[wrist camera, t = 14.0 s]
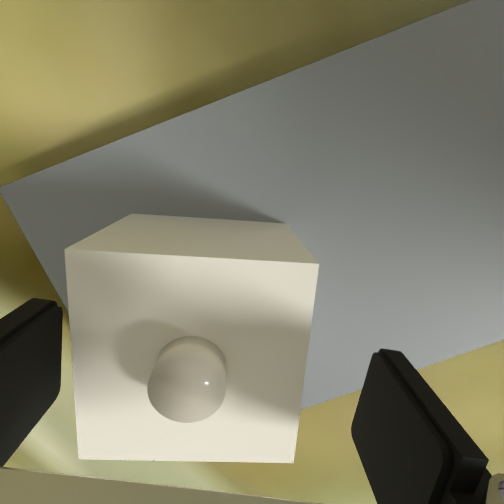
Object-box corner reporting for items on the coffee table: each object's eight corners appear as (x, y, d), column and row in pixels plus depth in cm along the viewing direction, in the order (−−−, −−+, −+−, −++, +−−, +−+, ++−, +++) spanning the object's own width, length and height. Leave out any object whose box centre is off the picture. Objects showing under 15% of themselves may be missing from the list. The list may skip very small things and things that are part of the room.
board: (499, -6, 14) (522, -21, 13) (545, 307, 18) (566, 317, 17) (15, 185, 15) (-3, 187, 14) (158, 442, 19) (153, 461, 18)
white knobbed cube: (132, 213, 15) (43, 260, 8) (286, 223, 15) (329, 275, 8) (134, 352, 16) (62, 489, 9) (273, 357, 17) (299, 492, 10)
